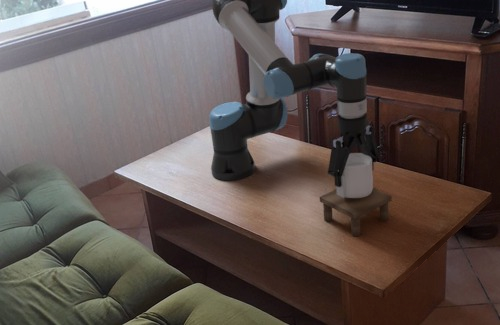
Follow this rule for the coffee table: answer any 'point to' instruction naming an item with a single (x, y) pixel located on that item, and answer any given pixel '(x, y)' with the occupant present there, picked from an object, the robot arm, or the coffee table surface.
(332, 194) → the footstool
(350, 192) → the cup
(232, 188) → the coffee table surface
